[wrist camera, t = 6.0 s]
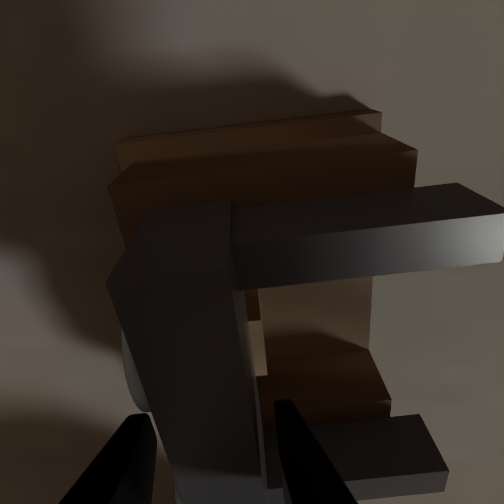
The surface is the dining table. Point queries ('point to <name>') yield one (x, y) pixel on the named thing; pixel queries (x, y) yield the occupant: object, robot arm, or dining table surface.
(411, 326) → the dining table surface
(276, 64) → the dining table surface
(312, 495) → the robot arm
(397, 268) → the grey c-shaped bracket
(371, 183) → the display stand
